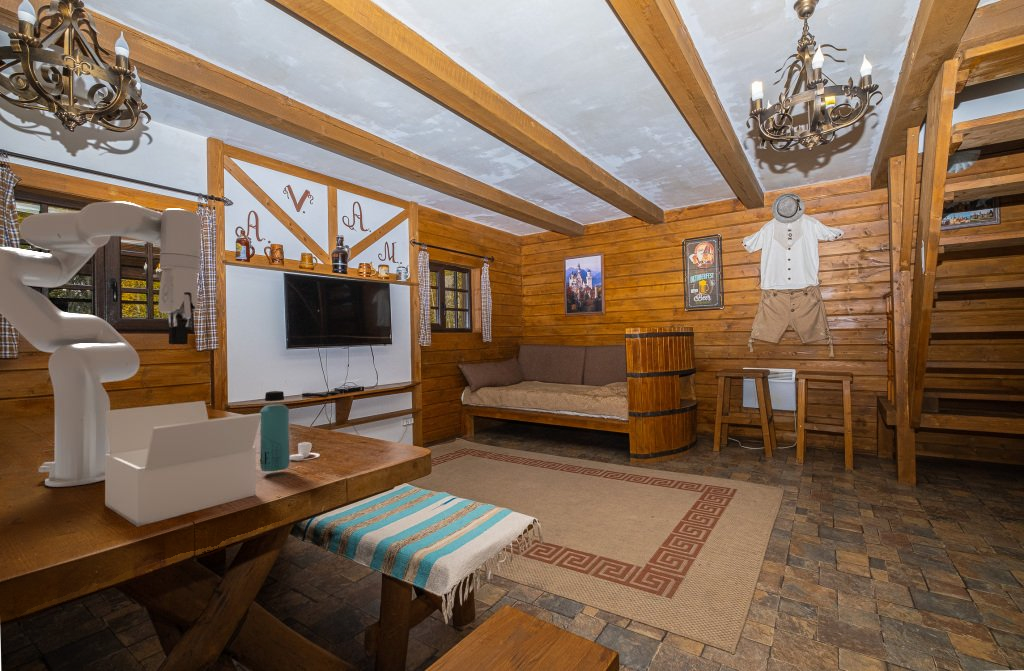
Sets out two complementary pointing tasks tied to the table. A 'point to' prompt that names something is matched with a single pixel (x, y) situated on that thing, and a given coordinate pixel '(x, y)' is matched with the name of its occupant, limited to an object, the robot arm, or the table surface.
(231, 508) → the table surface
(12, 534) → the table surface
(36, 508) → the table surface
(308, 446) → the teacup and saucer
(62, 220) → the robot arm
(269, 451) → the beverage bottle
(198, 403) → the far flap
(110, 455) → the carton
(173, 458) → the near flap
